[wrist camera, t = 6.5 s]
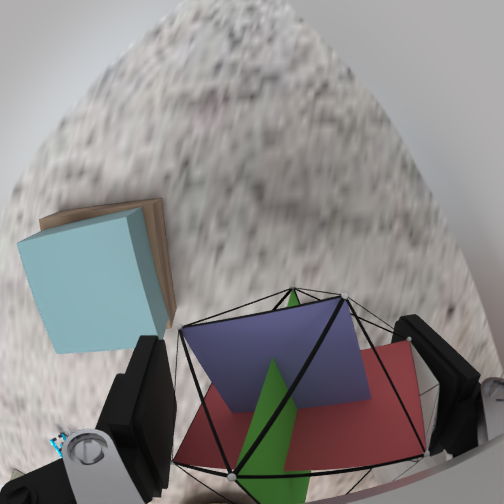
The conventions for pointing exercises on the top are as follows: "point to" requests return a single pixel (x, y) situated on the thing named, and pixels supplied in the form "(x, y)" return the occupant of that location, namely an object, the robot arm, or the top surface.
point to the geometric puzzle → (303, 398)
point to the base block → (154, 230)
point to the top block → (95, 283)
